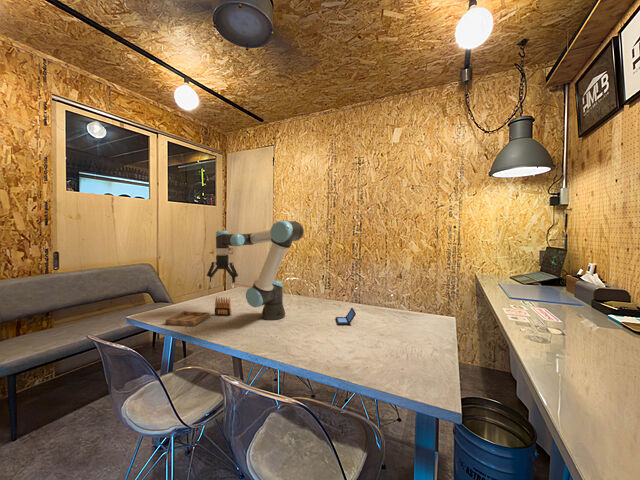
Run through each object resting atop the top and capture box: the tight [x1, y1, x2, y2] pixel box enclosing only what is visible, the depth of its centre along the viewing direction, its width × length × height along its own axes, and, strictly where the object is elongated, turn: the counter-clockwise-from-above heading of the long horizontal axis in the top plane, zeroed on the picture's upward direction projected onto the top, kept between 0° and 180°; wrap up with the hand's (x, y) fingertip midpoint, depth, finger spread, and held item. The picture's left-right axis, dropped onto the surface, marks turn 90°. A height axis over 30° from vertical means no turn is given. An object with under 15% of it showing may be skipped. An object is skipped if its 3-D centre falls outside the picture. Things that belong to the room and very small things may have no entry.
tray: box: [165, 310, 211, 327], centre depth 157 cm, size 18×16×3 cm
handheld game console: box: [335, 307, 357, 327], centre depth 157 cm, size 12×11×7 cm
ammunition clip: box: [214, 296, 232, 317], centre depth 167 cm, size 11×2×12 cm, turn 82°
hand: (222, 287), depth 167 cm, fingers open, 13 cm apart
